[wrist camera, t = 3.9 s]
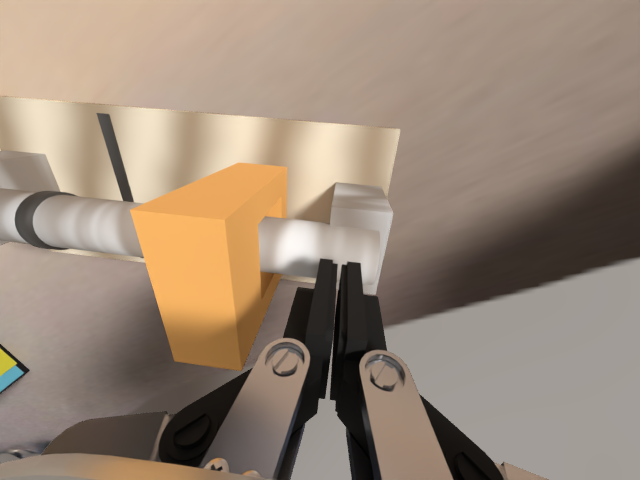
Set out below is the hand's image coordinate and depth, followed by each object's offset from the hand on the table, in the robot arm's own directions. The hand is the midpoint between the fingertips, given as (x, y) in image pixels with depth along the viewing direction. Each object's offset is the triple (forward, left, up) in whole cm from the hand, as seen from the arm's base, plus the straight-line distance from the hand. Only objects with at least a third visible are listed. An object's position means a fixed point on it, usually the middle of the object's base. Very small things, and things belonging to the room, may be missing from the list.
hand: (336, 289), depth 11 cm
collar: (+5, 0, -7) cm, 8 cm away
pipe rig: (+11, 0, -9) cm, 14 cm away
